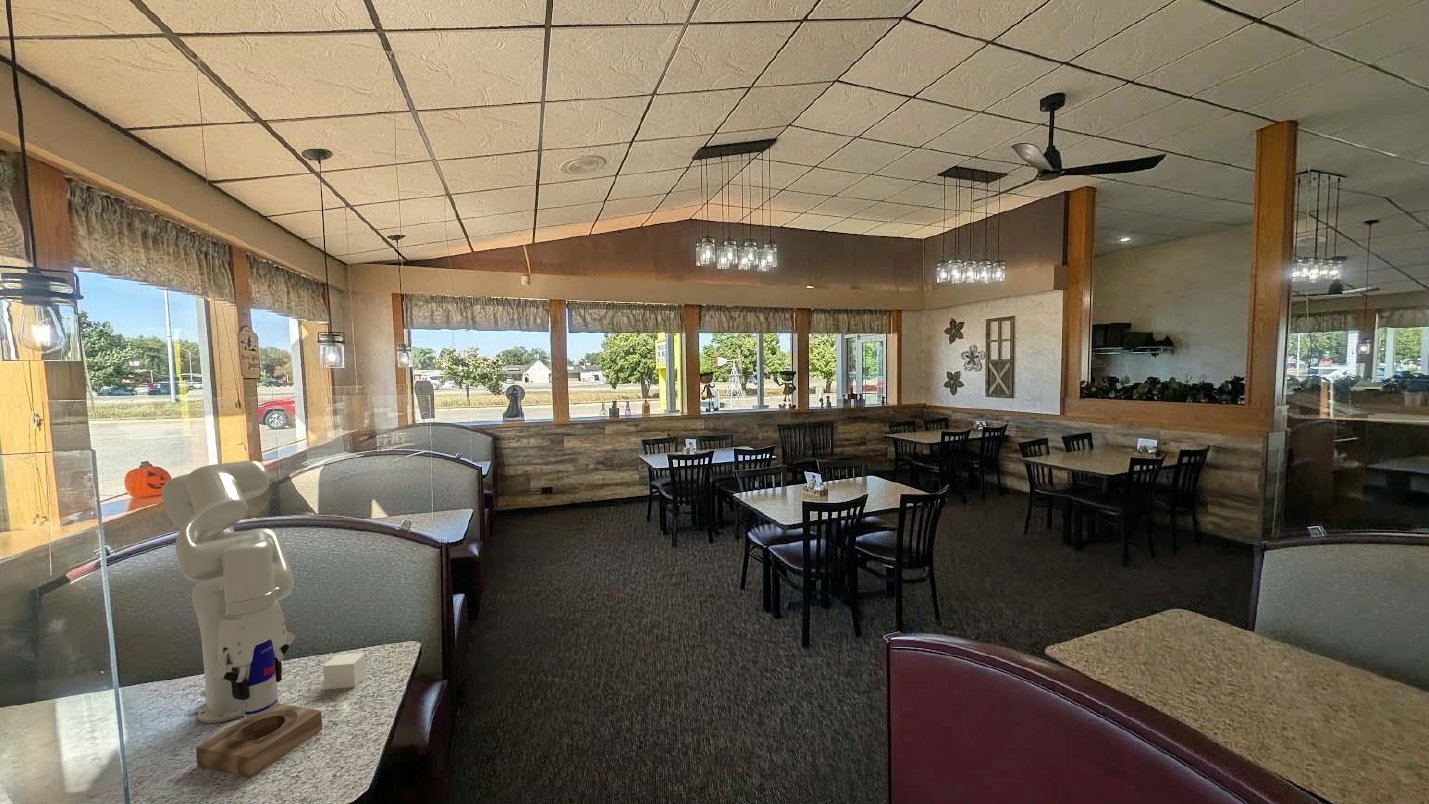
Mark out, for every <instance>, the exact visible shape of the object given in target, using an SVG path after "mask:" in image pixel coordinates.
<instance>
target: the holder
mask: <svg viewBox="0 0 1429 804" xmlns="http://www.w3.org/2000/svg"><path fill="white" fill-rule="evenodd" d="M321 730H323V718H322V710H318V709H313V708H305V707H299V706H295V705H288V704H284V703H283V704H282V703H277V705H276V706H275V707H274V708H273V709H271V710H270V711H268V712H266V713H264V714H261V715H258V716H254V717H244V718H243V719H241V720H239V721H238V722H236V723H234V724H233V725H231V726H229V727H228V728H226V729H224V730H222V731H220V732H219V733H217V734H216V735H214V736H212V737H210V738H209V739H207V740H205V741H203V742H202V743H199V744H198V745H197V746H195V754H196V766H197V768H202V769H209V770H211V771H217V772H222V773H227V774H230V775H237V776H239V777H245V778H250V779H252V778H253V777H254V776H256V775H257V774H259V773H260V772H262V771H263V770H265V769H266V768H268V767H269V766H270V765H271V764H274V763H275V762H276V761H277V760H279V759H280V758H282V757H283V756H285V755H287V754H288V753H290V752H291V751H292V750H294V749H295V748H297V747H298V746H299V745H301V744H302V743H304V742H305V741H307V740H309V739H310V737H313V735H316V734H317V733H318V732H320V731H321Z"/></svg>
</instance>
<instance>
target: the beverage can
mask: <svg viewBox="0 0 1429 804" xmlns="http://www.w3.org/2000/svg"><path fill="white" fill-rule="evenodd" d="M255 646H256V647H255V648H254V652H253V658H252V662H251V663H249V664H247V669H246V673H245V677H244V679H247V680H248V688H249V698H248V699H247V700H241V711H242V716H241V717H244V718H246V717H254V716H258V715H261V714H264V713H266V712H268V711H270V710H271V709H273V708H274V707H275V706H276V705H277V704H279V703H278V702H279V701H278V700H279V699H278V689H277V688H278V687H277V686H278V685H277V682H276V673H275V660H274V651H273V644H272V640H270V638H268V639H266V640H264V641H262V642H260V643H257V644H255Z"/></svg>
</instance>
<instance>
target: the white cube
mask: <svg viewBox="0 0 1429 804" xmlns="http://www.w3.org/2000/svg"><path fill="white" fill-rule="evenodd" d="M322 667H323V682H324V690H335V689H347V688H348V687H349V688H356V687H357V686H358V685H359V684H360V683H361V682H362V681H363V680H364V679H365V678H367V674H368V673H367V660H366V652H358V653H357V652H356V653H344V654H335V655H334V656H333V657H331V658H330V660H328V661H327V662H326V663H325V664H323V666H322ZM360 681H361V682H360ZM359 682H360V683H359ZM358 683H359V684H358Z"/></svg>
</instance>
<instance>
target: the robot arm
mask: <svg viewBox="0 0 1429 804" xmlns="http://www.w3.org/2000/svg"><path fill="white" fill-rule="evenodd" d="M269 485H270V474H269V472H268V470H267V467H266V466H265V465H264V464H263V463H261V462H260V461H257V460H243V461H234V462H225V463H224V462H223V463H217V464H216V463H215V464H210V465H204V466H201V467H199V468H196V469H193V470H192V471H191V472H190V473H187V474H186V473H185V474H183V475H178V476H176V477H172V478H171V479H169V480H167V481H165V483H164V484H163V486H162V488H161V489H162V490H161V497H162V498H161V499H162V504H163V506H164V509H165V511H166V513H167V515H168V517H169V518H170V519H171V521H172V522H173V524H174V525H175V526H176V527H178V529H179V532H178V534H177V536H176V540H175V553H176V557H177V560H178V565H179V568H180V571H181V573H182V575H183V577H184V578H185V579H186V580H188V581H190V582H198V583H197V584H196V585H195V587H194V588H193V589H192V593H191V600H192V605H193V608H194V611H195V615H196V617H197V622H198V625H199V631H200V640H201V648H202V649H201V650H202V658H203V671H204V681H205V682H204V684H205V689H204V690H201V693H200V697H203V698H205V702H206V704H205V705H204V706H202V707H201V708H200V710H199V711H198V714H197V717H198V720H199V722H201V723H204V724H215V723H216V724H218V723H222V722H227V721H231V720H234V719H236V718H239V717H243V716H242V711H241V700H247V699H248V698H249V688H248V680H247V679H244V677H245V673H246V669H247V664H249V663H251V662H252V658H253V652H254V648H255V647H256V646H255V644H257V643H260V642H262V641H264V640H266V639H268V638H270V640H272V644H273V651H274V660H275V673H276V683H279V682H281V681H282V680H283V678H282V677H283V676H282V674H283V669H282V667H283V666H282V661H284V659H285V654H286V653H287V651H288V650H289V647H290V645H291V644H292V643H293V642H294V640H295V639H296V634H294V633H292V632H290V631H288V630H287V628H286V620H285V617H284V612H283V611H282V607H281V604H280V603H279V601H281V600H283V599H285V598H287V597H289V595H291V593H292V592H293V589H294V585H295V582H294V581H295V580H294V575H293V572H292V570H291V566H290V563H289V561H288V558H287V555H286V553H285V550H284V547H283V545H282V541H281V539H280V537H279V535H278V534H277V533H276V532H275V531H274V529H271V528H267V527H262V528H261V527H260V528H254V529H251V530H245V531H237V532H236V531H235V529H234V525H237V523H239V522H240V521H241V520H242V519H244V517H246V514H247V513H248V510H249V509H248V504H247V501H246V500H248V499H252V498H253V499H254V498H255V497H257V496H261V495H262V494H263V493H266V491H267V490H268V488H269Z"/></svg>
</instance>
